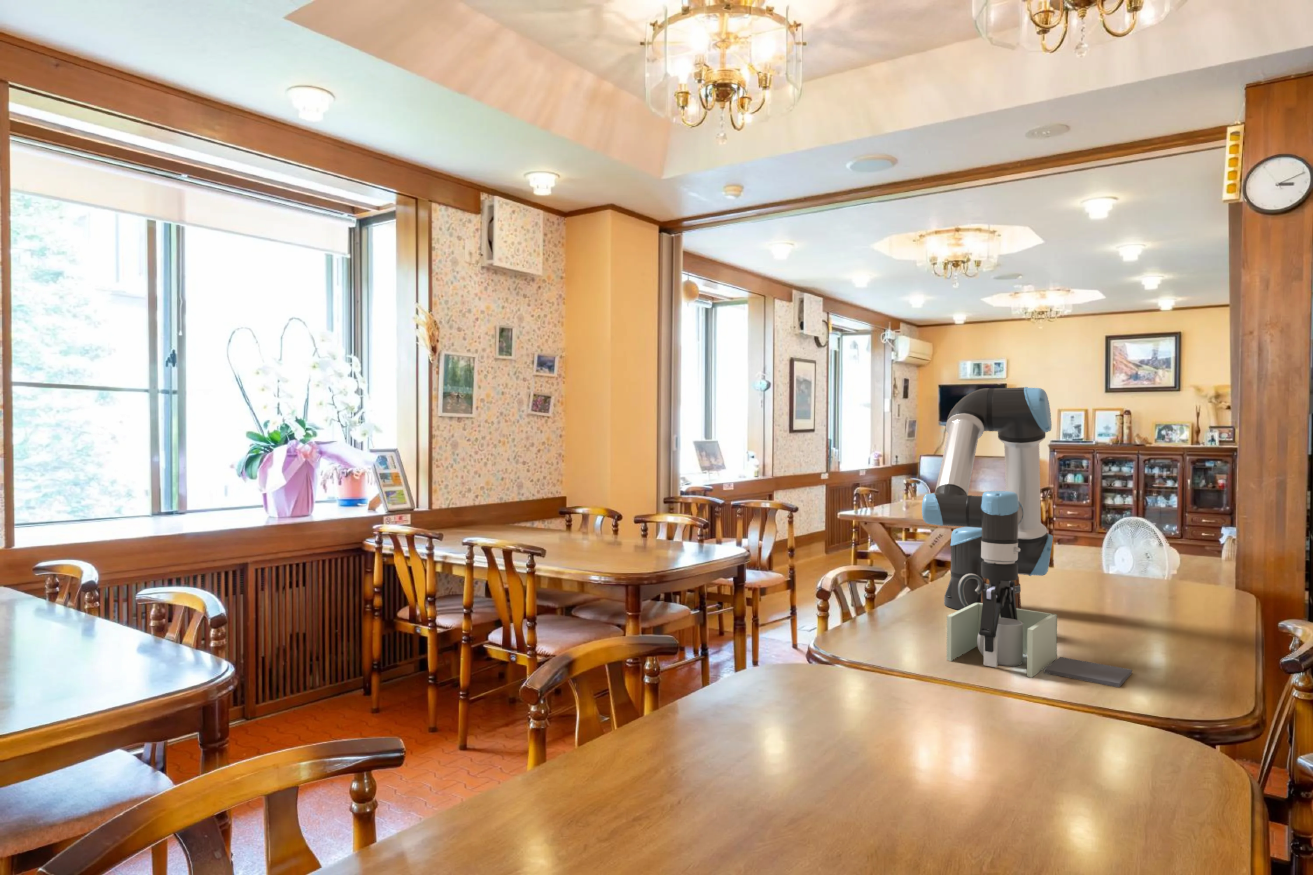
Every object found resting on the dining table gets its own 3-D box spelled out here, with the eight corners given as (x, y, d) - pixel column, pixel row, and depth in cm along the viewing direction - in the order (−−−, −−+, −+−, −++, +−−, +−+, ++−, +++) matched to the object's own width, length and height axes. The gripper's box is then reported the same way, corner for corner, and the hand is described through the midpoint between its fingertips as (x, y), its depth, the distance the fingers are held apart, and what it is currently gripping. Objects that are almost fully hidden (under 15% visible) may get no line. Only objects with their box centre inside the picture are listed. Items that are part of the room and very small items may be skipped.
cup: (1029, 665, 173) (1029, 625, 173) (985, 667, 172) (985, 626, 172) (1011, 656, 180) (1012, 617, 180) (969, 657, 179) (969, 618, 179)
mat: (1044, 672, 168) (1044, 669, 168) (1060, 660, 177) (1060, 656, 177) (1119, 687, 159) (1119, 683, 159) (1131, 673, 168) (1131, 669, 168)
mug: (1014, 627, 205) (1015, 570, 205) (1029, 638, 195) (1030, 578, 195) (952, 626, 207) (953, 569, 207) (964, 637, 196) (964, 577, 196)
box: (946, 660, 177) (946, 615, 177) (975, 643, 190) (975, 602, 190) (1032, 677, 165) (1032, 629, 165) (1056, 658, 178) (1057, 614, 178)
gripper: (999, 569, 165) (998, 675, 165) (1033, 556, 182) (1032, 652, 182) (963, 565, 170) (962, 668, 170) (999, 552, 187) (998, 646, 187)
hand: (998, 660), depth 176 cm, fingers open, 10 cm apart
